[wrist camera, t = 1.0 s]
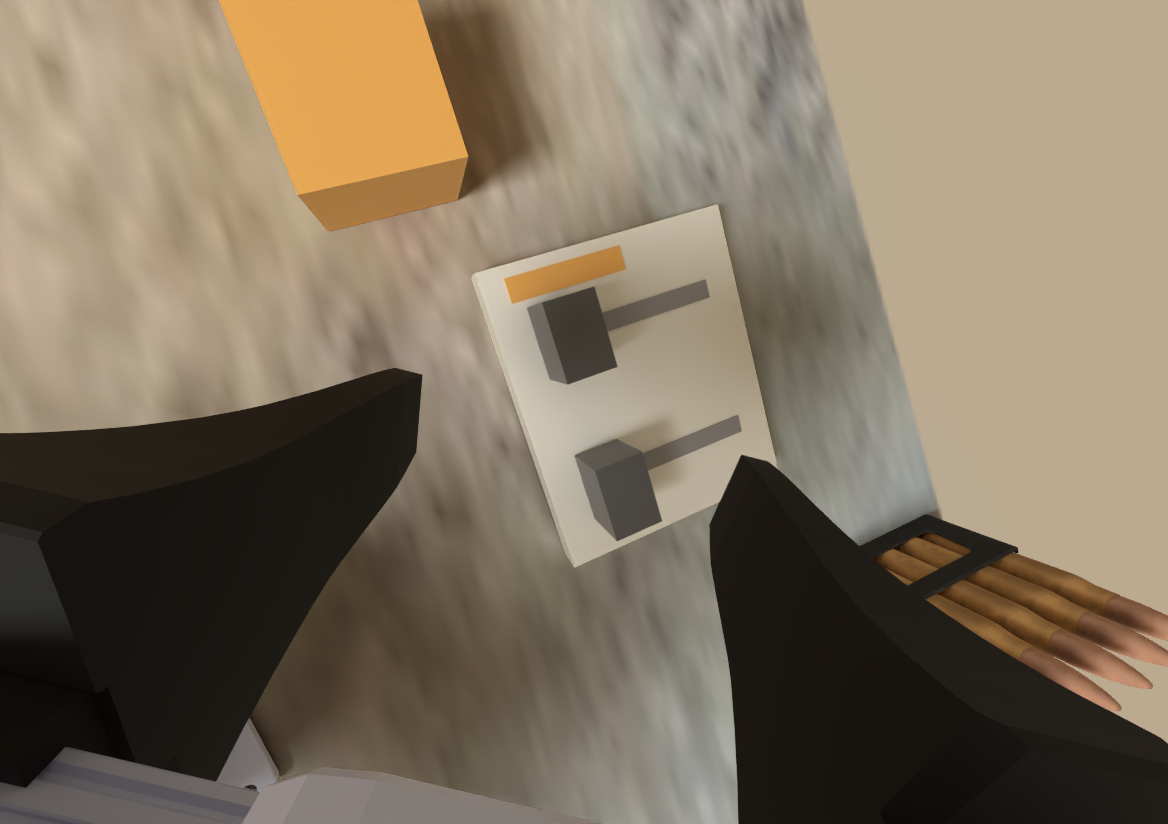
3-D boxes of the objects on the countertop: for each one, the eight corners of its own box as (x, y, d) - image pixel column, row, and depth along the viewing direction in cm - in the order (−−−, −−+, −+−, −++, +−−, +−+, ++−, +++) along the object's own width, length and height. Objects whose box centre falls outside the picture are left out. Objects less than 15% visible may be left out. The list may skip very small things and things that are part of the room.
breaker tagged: (549, 379, 21) (567, 384, 18) (526, 307, 20) (541, 302, 17) (594, 364, 21) (618, 366, 19) (573, 293, 21) (594, 286, 18)
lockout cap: (328, 231, 19) (297, 195, 14) (259, 58, 18) (200, -46, 13) (457, 199, 20) (468, 156, 16) (402, 35, 19) (395, -67, 14)
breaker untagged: (594, 518, 22) (617, 541, 20) (574, 455, 21) (594, 470, 19) (635, 501, 23) (662, 521, 20) (616, 439, 22) (642, 451, 19)
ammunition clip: (927, 513, 30) (1226, 614, 19) (930, 540, 31) (1226, 655, 20) (781, 584, 28) (1028, 749, 16) (787, 613, 28) (1033, 794, 17)
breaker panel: (565, 554, 24) (575, 568, 22) (470, 277, 21) (474, 272, 19) (759, 467, 26) (780, 475, 25) (699, 212, 23) (719, 203, 22)
